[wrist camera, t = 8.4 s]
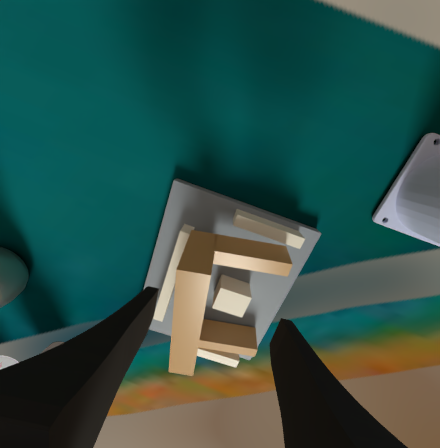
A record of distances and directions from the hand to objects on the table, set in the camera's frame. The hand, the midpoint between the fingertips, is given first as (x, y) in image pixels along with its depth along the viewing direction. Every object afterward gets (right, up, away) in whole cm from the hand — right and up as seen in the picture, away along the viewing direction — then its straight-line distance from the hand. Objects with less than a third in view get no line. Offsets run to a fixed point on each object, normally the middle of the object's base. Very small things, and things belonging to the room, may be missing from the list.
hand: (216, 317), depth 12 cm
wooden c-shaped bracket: (+1, -1, +8) cm, 8 cm away
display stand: (0, 0, +10) cm, 10 cm away
